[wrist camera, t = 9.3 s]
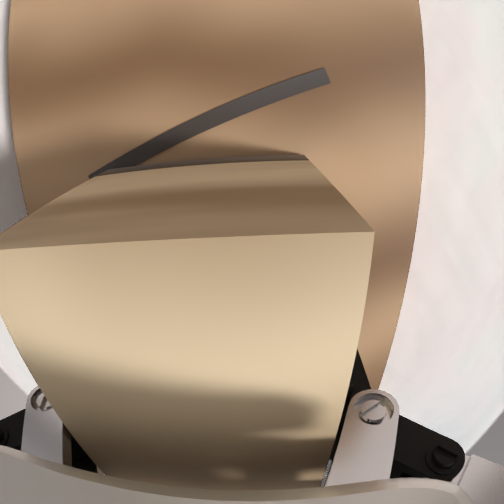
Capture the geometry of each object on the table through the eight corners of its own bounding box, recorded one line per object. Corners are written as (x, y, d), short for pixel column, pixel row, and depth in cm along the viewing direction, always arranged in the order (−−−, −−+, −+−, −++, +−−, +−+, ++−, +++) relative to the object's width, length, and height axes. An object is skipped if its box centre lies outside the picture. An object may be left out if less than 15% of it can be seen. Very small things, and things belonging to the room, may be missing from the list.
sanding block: (108, 169, 9) (-25, 251, 4) (304, 154, 9) (374, 231, 4) (168, 405, 14) (145, 515, 9) (295, 405, 14) (307, 522, 8)
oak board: (41, -20, 7) (14, -30, 6) (383, -59, 7) (403, -80, 5) (129, 411, 18) (121, 437, 16) (354, 409, 17) (361, 436, 16)
